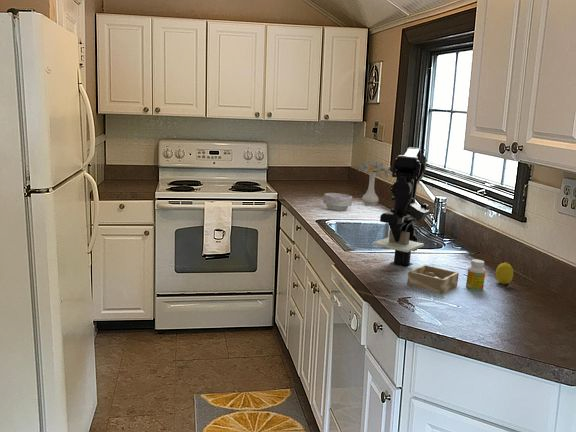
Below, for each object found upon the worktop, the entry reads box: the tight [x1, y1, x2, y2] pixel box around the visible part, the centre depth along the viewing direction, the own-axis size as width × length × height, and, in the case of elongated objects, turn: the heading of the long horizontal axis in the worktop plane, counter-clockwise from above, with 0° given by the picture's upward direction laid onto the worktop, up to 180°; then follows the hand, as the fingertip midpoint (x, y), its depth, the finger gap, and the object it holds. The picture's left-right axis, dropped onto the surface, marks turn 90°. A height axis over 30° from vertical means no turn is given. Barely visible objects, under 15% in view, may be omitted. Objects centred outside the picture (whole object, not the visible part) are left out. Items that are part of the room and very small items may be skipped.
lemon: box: [495, 261, 514, 285], centre depth 199 cm, size 6×6×8 cm
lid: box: [372, 229, 425, 252], centre depth 196 cm, size 12×12×5 cm
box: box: [406, 264, 460, 295], centre depth 192 cm, size 12×12×5 cm
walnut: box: [426, 272, 436, 277], centre depth 195 cm, size 3×3×3 cm
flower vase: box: [357, 160, 392, 207], centre depth 335 cm, size 13×18×25 cm
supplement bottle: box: [465, 258, 486, 292], centre depth 191 cm, size 5×5×10 cm
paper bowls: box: [323, 192, 353, 212], centre depth 317 cm, size 15×15×8 cm
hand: (398, 241), depth 197 cm, fingers closed on lid, 2 cm apart
